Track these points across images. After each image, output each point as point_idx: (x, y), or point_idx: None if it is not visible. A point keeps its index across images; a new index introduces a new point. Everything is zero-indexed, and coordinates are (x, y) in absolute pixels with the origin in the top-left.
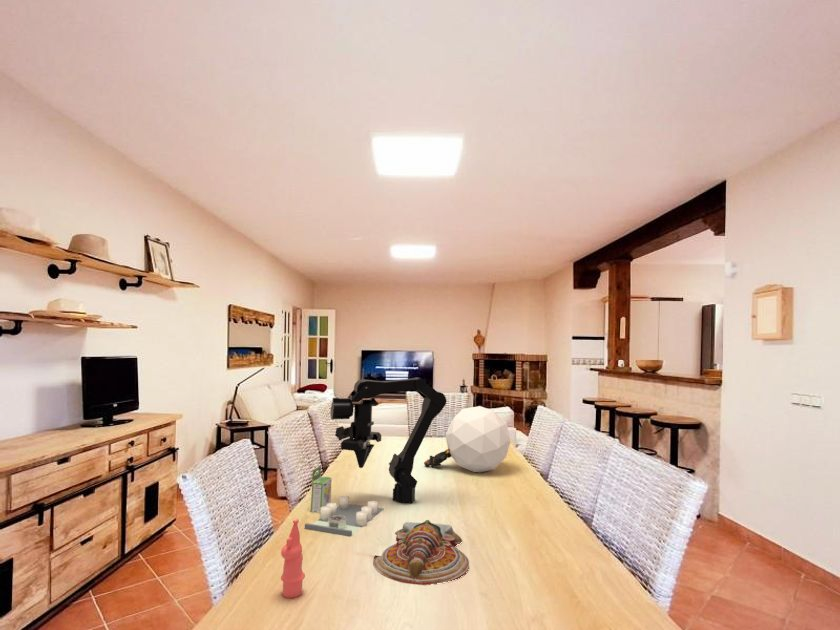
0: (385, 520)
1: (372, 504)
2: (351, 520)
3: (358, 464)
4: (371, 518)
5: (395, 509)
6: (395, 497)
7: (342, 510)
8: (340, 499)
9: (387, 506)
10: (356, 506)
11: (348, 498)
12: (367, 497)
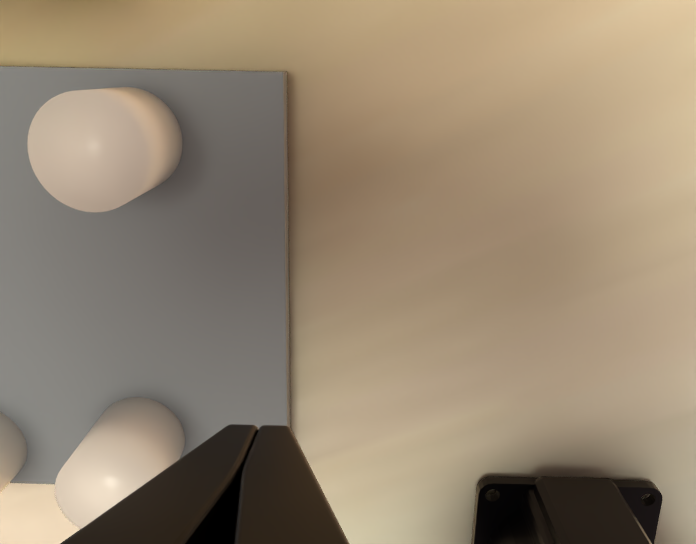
0: None
1: (64, 506)
2: None
3: (187, 459)
4: (20, 475)
5: (389, 528)
6: (532, 530)
7: None
8: (33, 132)
9: (439, 449)
10: (233, 242)
11: (106, 209)
12: (647, 182)
